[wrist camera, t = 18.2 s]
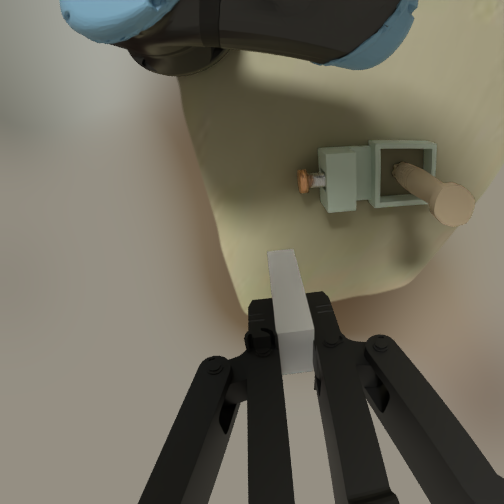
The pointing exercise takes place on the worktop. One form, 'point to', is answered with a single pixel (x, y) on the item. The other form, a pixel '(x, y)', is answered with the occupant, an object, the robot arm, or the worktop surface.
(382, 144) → the dock
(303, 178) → the lock pin
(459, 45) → the worktop surface
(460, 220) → the handle
